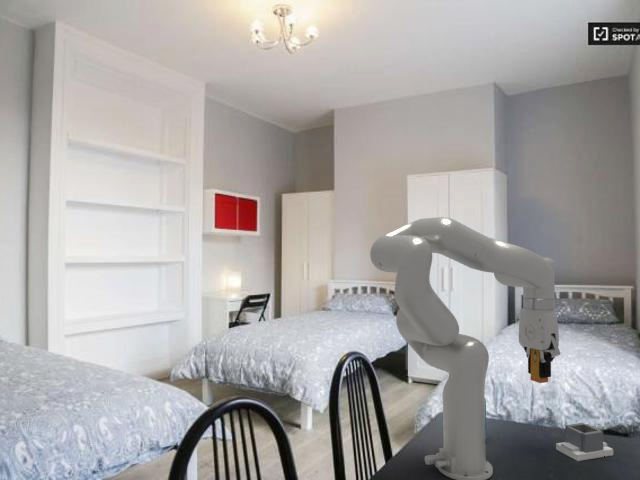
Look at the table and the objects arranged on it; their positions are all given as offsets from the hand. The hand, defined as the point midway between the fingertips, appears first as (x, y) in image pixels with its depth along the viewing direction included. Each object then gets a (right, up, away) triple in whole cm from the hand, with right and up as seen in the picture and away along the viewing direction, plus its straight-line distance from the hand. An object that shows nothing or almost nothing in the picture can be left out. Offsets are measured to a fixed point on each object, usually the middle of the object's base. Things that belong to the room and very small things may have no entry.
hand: (539, 374), depth 126 cm
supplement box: (0, -2, 0) cm, 2 cm away
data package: (-15, -19, +9) cm, 26 cm away
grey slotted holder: (+10, -19, -4) cm, 21 cm away
